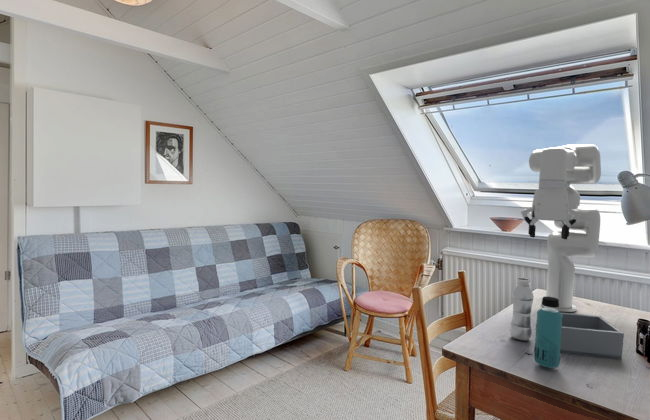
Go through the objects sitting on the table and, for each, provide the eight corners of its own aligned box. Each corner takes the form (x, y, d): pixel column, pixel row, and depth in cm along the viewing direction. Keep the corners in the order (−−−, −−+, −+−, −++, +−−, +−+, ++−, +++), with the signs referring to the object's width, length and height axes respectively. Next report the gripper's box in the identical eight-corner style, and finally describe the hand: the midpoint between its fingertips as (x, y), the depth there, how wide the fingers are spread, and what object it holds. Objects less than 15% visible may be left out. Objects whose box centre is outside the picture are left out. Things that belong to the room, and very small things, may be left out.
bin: (542, 334, 134) (543, 311, 133) (598, 339, 130) (600, 316, 129) (557, 352, 119) (559, 327, 119) (621, 359, 116) (623, 333, 115)
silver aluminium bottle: (511, 341, 127) (514, 280, 126) (507, 333, 134) (511, 275, 132) (533, 344, 125) (537, 282, 124) (528, 336, 132) (532, 277, 130)
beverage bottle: (562, 367, 110) (567, 297, 108) (556, 376, 105) (561, 303, 103) (536, 360, 114) (540, 292, 113) (530, 367, 109) (534, 297, 108)
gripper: (576, 187, 131) (572, 238, 132) (520, 185, 134) (516, 235, 135) (586, 187, 123) (582, 241, 124) (526, 184, 127) (523, 237, 128)
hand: (548, 237), depth 130 cm, fingers open, 9 cm apart
